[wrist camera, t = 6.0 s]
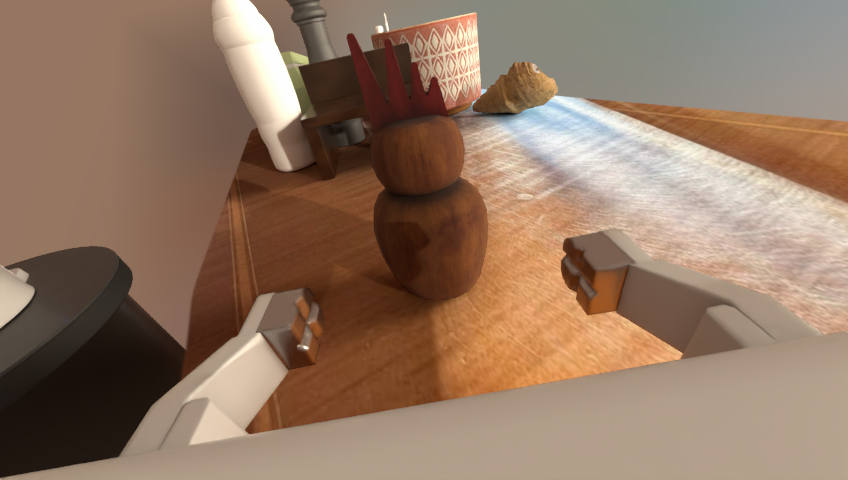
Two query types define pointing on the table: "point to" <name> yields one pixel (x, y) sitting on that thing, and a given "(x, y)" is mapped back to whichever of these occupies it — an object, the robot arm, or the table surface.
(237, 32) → the water bottle
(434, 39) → the planter
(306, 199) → the table surface
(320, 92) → the miniature wooden bench
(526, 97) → the seashell
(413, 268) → the wooden figurine
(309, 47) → the candle holder
